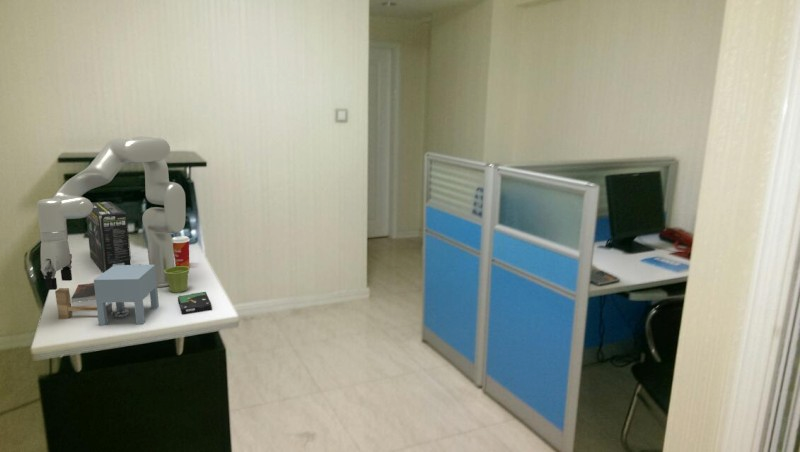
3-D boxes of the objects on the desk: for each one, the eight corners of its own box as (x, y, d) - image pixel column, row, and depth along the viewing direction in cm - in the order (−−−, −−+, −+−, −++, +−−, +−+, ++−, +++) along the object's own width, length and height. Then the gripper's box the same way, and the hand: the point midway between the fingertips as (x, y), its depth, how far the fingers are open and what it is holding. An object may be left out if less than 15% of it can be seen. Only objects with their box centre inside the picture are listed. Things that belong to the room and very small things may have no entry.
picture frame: (72, 304, 193) (137, 297, 202) (71, 298, 193) (136, 290, 201) (79, 290, 208) (139, 283, 217) (78, 284, 208) (138, 278, 216)
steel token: (116, 313, 184) (116, 309, 184) (131, 313, 185) (131, 309, 185) (110, 319, 179) (110, 315, 179) (126, 318, 180) (126, 314, 180)
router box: (133, 272, 229) (127, 212, 223) (105, 277, 222) (98, 215, 216) (115, 253, 256) (109, 200, 250) (89, 257, 249) (83, 202, 243)
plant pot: (164, 295, 202) (162, 274, 200) (167, 287, 211) (166, 266, 209) (189, 293, 205) (188, 272, 203) (192, 285, 213) (191, 265, 211)
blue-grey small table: (116, 307, 189) (112, 265, 186) (158, 306, 191) (155, 264, 187) (96, 325, 174) (91, 279, 170) (142, 324, 176) (138, 279, 172)
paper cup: (170, 267, 236) (168, 237, 233) (187, 264, 241) (185, 234, 238) (177, 271, 231) (175, 241, 228) (194, 268, 236) (192, 238, 233)
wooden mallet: (67, 312, 184) (63, 285, 182) (112, 311, 186) (109, 285, 183) (54, 321, 176) (51, 293, 174) (102, 320, 178) (99, 293, 176)
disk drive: (212, 311, 189) (206, 297, 202) (212, 304, 188) (205, 290, 201) (182, 316, 184) (177, 302, 197) (181, 309, 184) (176, 295, 196)
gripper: (56, 230, 182) (61, 277, 185) (26, 241, 165) (33, 293, 168) (79, 230, 182) (83, 277, 186) (52, 241, 166) (57, 293, 169)
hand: (59, 284), depth 177 cm, fingers open, 9 cm apart
